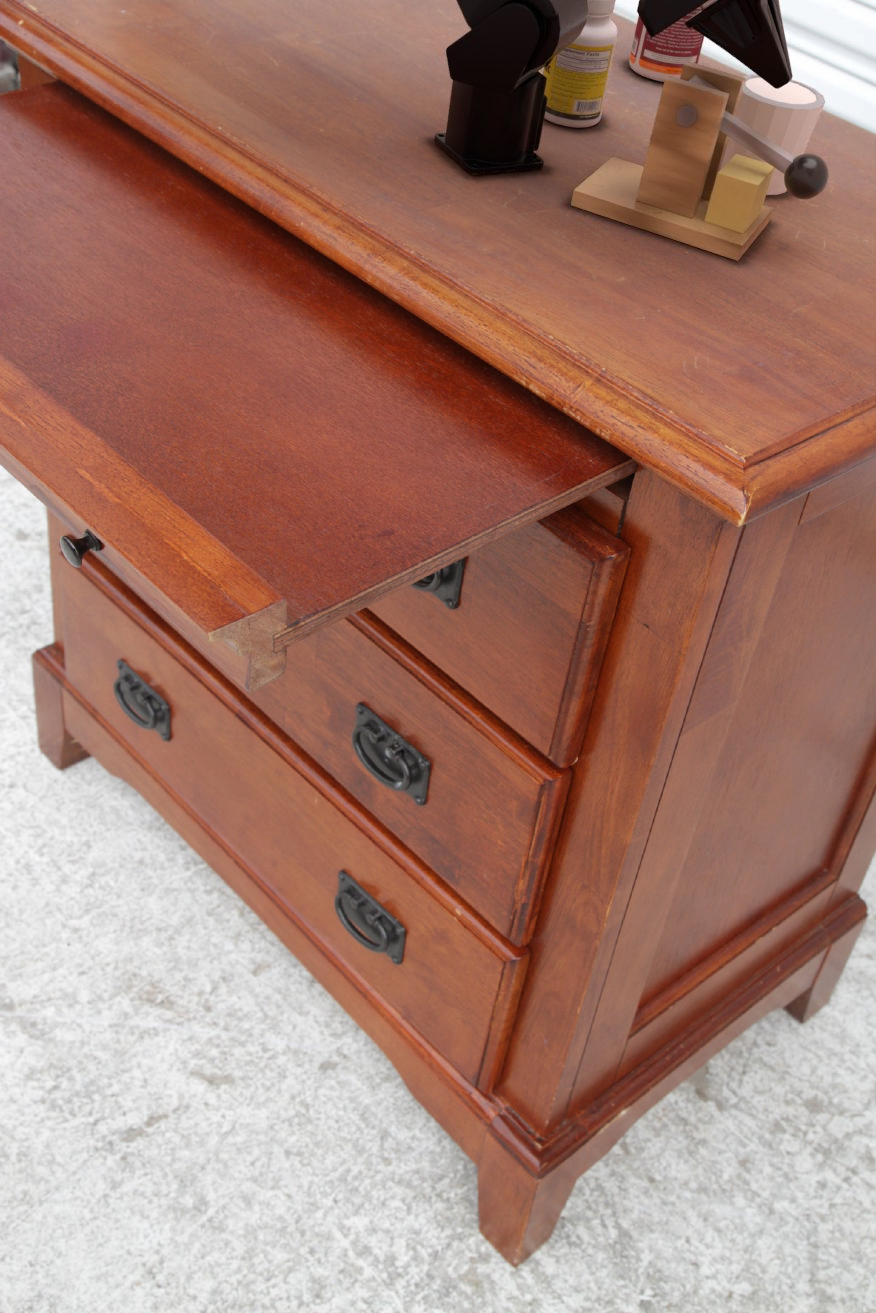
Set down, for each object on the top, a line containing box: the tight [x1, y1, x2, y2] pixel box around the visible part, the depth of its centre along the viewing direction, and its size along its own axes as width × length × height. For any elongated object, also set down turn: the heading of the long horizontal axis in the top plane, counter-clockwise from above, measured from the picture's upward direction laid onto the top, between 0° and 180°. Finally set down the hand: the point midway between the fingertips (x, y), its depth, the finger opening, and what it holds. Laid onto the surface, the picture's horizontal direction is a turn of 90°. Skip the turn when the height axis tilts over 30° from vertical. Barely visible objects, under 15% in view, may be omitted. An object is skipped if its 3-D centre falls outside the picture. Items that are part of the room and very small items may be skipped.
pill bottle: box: [628, 7, 705, 83], centre depth 115 cm, size 6×6×11 cm
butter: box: [704, 154, 775, 234], centre depth 92 cm, size 4×3×4 cm
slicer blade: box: [689, 75, 830, 200], centre depth 90 cm, size 12×3×3 cm, turn 63°
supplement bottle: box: [542, 0, 619, 128], centre depth 104 cm, size 5×5×10 cm
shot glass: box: [720, 73, 826, 196], centre depth 100 cm, size 7×7×7 cm
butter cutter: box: [570, 61, 774, 262], centre depth 92 cm, size 13×8×10 cm, turn 63°
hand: (784, 84), depth 87 cm, fingers closed
